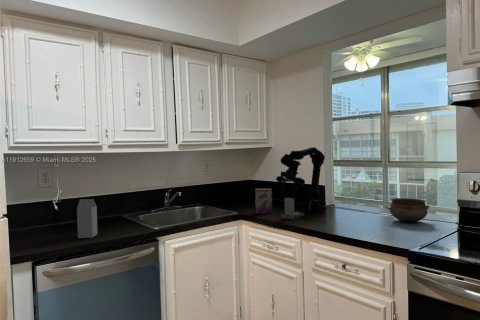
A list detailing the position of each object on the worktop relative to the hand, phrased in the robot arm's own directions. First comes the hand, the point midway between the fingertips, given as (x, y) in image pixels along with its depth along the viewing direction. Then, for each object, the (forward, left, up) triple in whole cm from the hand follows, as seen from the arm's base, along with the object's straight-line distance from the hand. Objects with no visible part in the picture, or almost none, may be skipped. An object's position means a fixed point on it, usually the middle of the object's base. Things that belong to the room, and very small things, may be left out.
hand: (287, 193), depth 199 cm
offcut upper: (-4, 0, -14) cm, 15 cm away
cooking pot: (-66, +18, -15) cm, 70 cm away
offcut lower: (-4, 0, -16) cm, 16 cm away
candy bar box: (+13, -15, -15) cm, 25 cm away
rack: (-3, +1, -15) cm, 15 cm away
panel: (-1, +4, -15) cm, 16 cm away
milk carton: (+107, +34, -15) cm, 114 cm away
